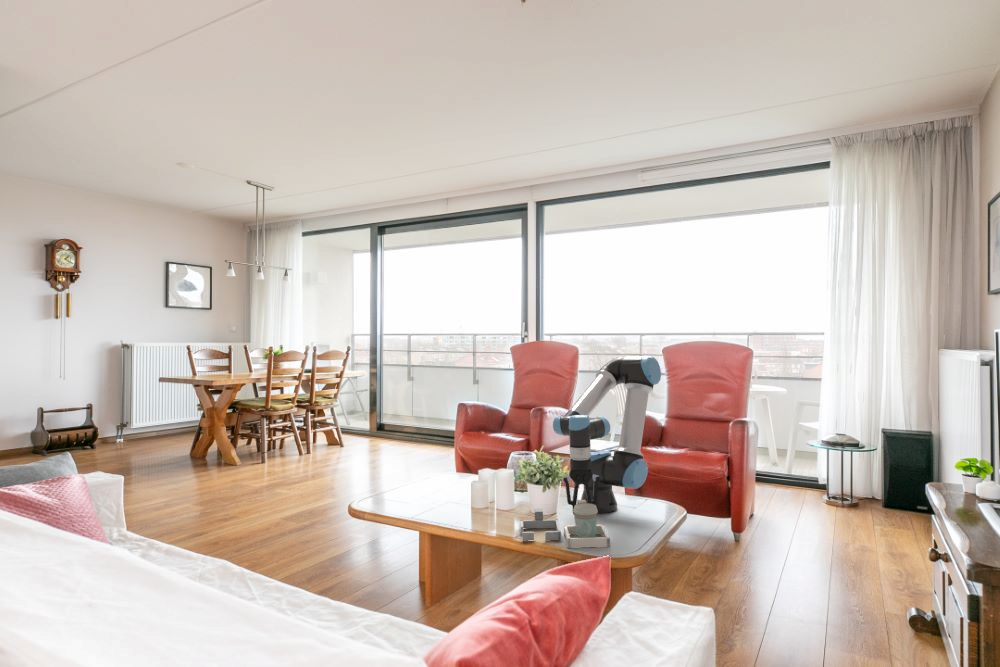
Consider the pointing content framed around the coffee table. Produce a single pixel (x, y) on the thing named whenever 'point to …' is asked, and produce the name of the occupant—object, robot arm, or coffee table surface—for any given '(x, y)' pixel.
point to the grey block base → (540, 524)
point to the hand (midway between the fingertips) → (582, 523)
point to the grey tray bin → (586, 542)
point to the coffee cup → (585, 519)
